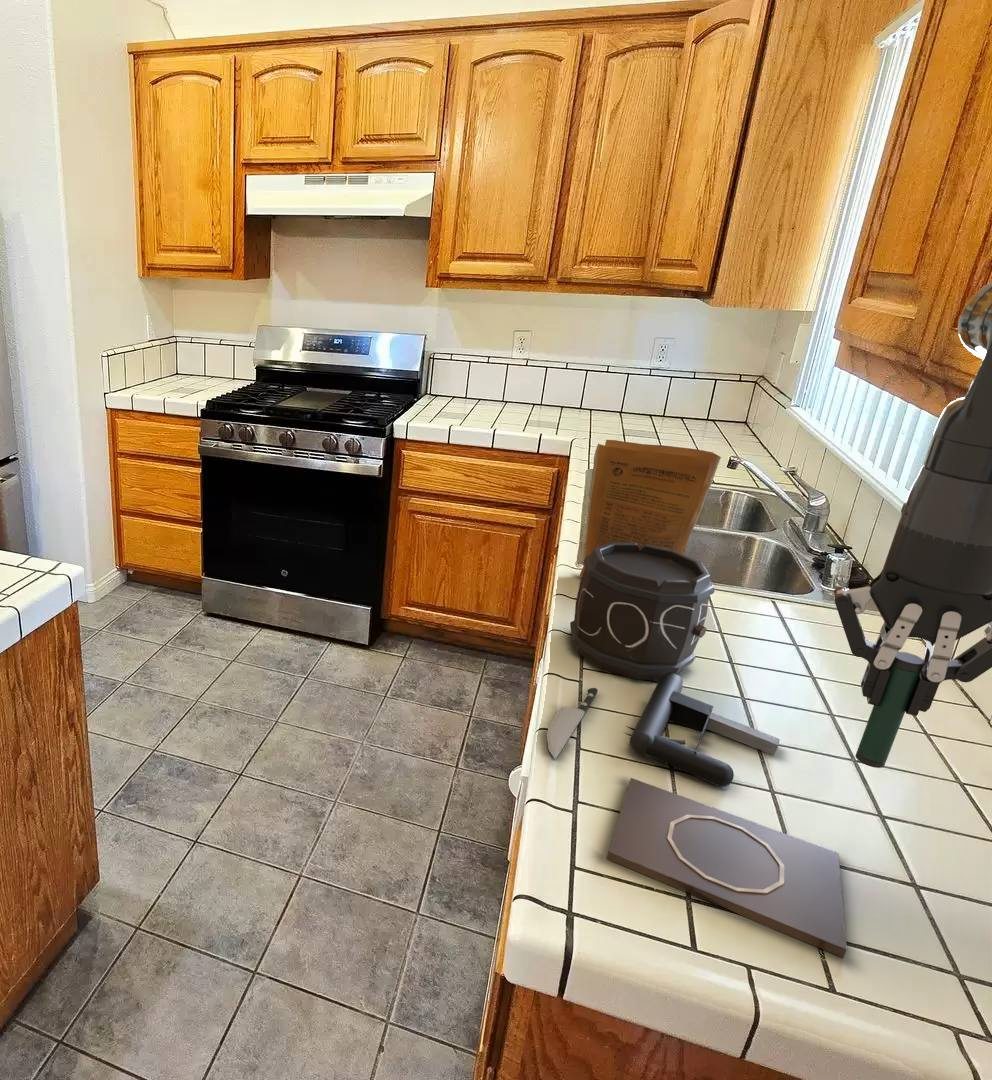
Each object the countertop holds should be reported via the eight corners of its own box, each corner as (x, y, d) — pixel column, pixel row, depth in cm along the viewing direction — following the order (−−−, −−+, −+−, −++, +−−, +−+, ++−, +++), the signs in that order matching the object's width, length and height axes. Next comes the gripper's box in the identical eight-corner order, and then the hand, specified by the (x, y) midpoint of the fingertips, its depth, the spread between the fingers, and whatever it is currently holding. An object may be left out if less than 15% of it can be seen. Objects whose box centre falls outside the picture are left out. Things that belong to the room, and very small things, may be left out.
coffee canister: (660, 700, 105) (688, 599, 99) (545, 647, 118) (564, 554, 112) (714, 662, 116) (742, 568, 110) (604, 617, 128) (624, 531, 123)
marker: (883, 758, 71) (923, 656, 67) (886, 771, 69) (927, 666, 65) (853, 750, 72) (890, 648, 68) (855, 762, 70) (893, 659, 66)
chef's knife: (530, 752, 93) (554, 761, 91) (531, 744, 92) (556, 753, 91) (576, 687, 107) (598, 693, 105) (577, 680, 107) (599, 686, 105)
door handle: (786, 713, 99) (656, 664, 107) (770, 792, 84) (621, 729, 92) (776, 733, 100) (649, 684, 109) (760, 815, 85) (614, 751, 94)
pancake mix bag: (678, 610, 132) (720, 456, 122) (566, 582, 142) (597, 436, 131) (683, 597, 137) (723, 448, 127) (575, 570, 147) (604, 430, 137)
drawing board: (835, 860, 78) (839, 852, 78) (843, 958, 67) (847, 949, 67) (628, 784, 88) (631, 776, 87) (606, 858, 77) (608, 850, 76)
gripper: (858, 521, 62) (800, 700, 69) (1088, 559, 56) (1001, 754, 62) (852, 499, 68) (799, 666, 75) (1059, 531, 62) (982, 711, 68)
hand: (891, 705), depth 68 cm, fingers closed on marker, 2 cm apart
